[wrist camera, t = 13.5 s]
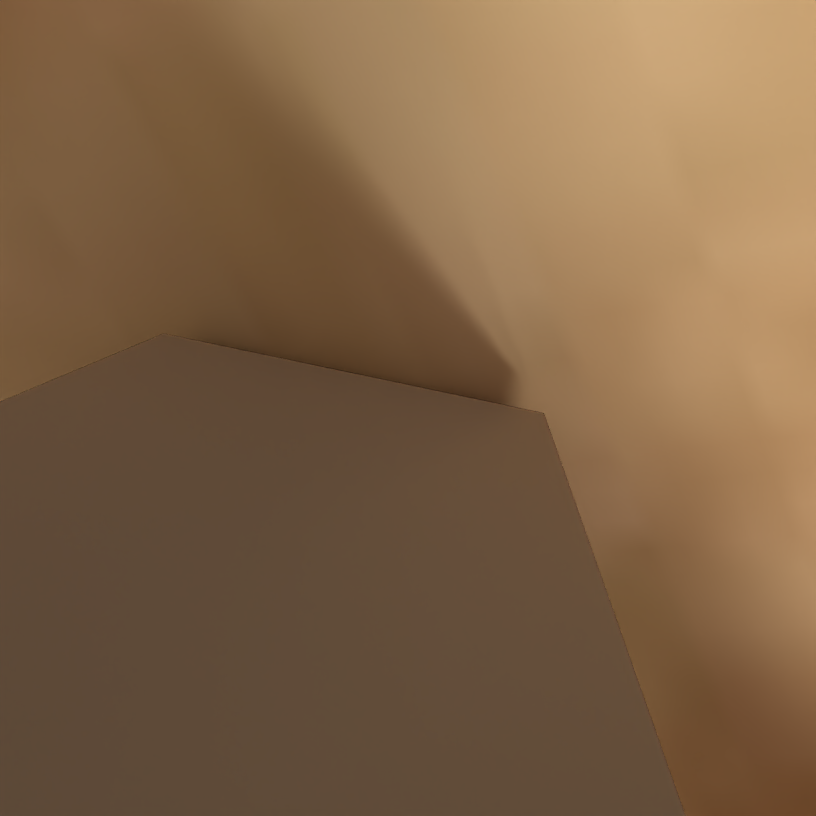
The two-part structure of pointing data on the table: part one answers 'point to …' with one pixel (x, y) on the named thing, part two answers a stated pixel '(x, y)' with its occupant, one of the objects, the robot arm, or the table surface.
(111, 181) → the table surface
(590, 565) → the grey cube
